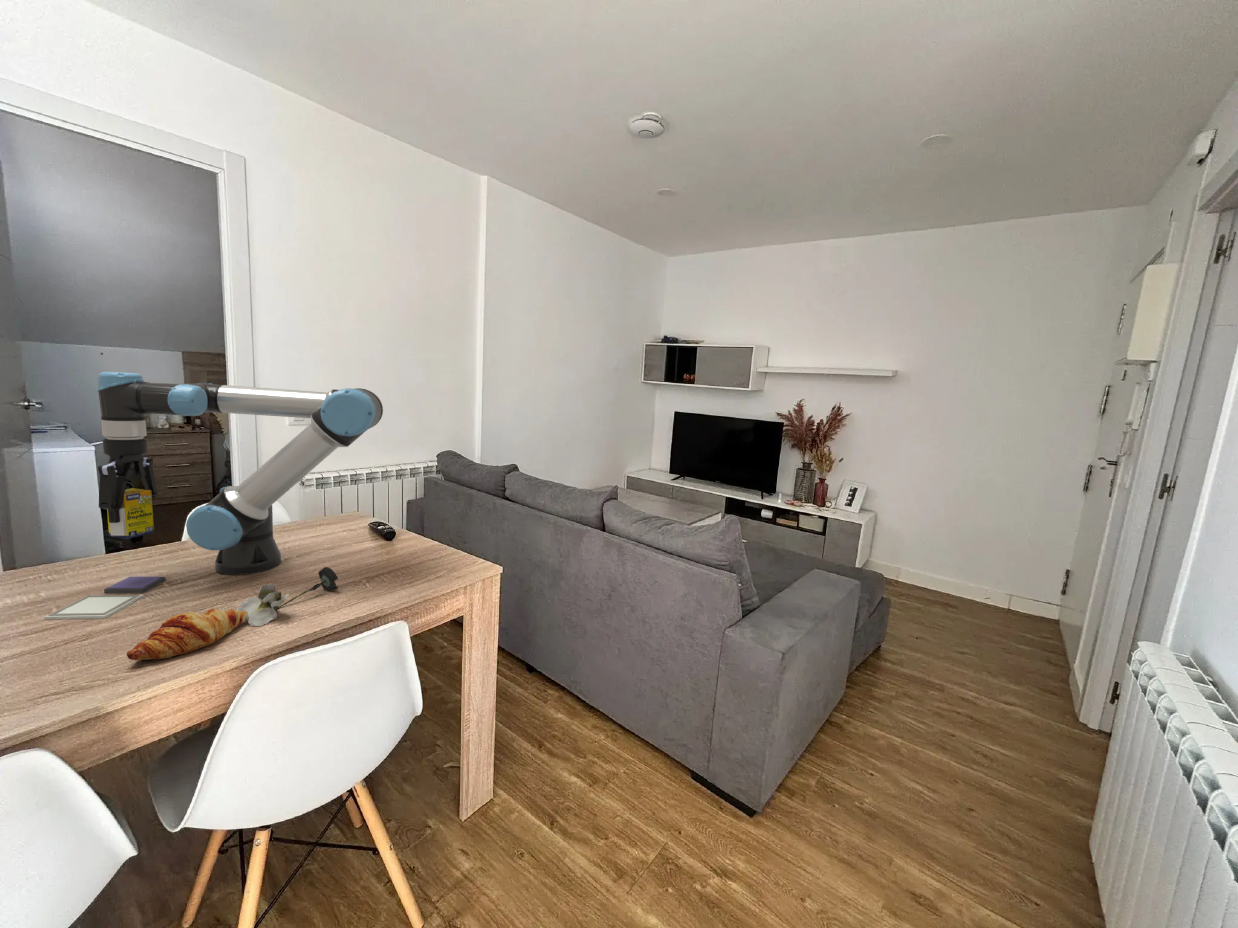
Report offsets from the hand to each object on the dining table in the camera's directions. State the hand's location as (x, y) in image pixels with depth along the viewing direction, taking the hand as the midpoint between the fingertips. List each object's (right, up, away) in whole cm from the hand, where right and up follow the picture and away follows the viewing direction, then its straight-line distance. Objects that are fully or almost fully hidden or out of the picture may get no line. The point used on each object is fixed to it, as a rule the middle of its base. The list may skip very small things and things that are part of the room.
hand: (132, 529), depth 122 cm
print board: (+1, -16, -9) cm, 19 cm away
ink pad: (-1, -14, +2) cm, 15 cm away
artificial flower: (+41, -19, -2) cm, 45 cm away
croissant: (+33, -21, -20) cm, 44 cm away
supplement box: (0, -1, 0) cm, 1 cm away
